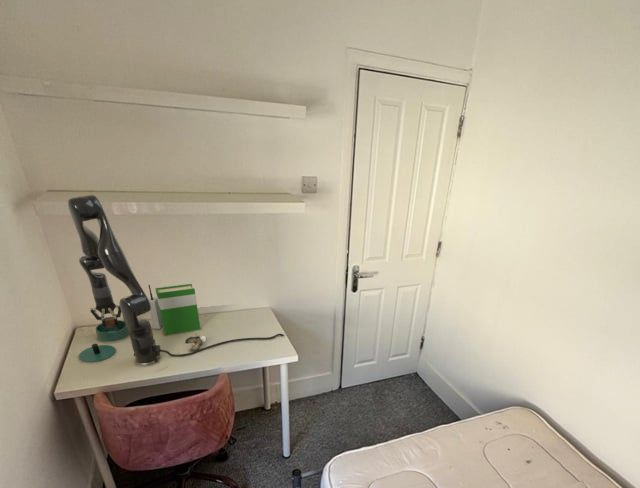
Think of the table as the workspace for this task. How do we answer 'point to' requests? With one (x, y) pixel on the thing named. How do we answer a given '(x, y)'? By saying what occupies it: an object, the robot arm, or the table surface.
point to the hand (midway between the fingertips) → (111, 325)
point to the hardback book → (178, 308)
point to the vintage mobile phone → (155, 312)
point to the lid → (97, 353)
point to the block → (110, 322)
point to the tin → (112, 336)
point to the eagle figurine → (197, 341)
